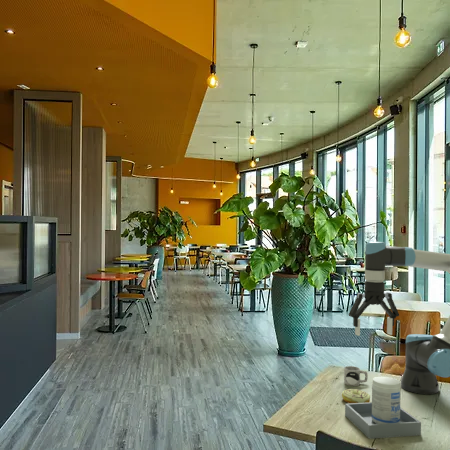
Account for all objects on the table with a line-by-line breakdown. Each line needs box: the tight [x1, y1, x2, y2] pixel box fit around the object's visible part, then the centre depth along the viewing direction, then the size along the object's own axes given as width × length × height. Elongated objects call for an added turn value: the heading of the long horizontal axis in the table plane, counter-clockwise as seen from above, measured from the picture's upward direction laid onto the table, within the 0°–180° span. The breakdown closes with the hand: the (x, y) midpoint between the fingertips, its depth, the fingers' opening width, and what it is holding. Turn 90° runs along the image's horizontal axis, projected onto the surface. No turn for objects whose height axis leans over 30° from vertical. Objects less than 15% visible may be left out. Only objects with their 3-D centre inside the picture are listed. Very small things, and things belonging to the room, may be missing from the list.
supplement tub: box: [371, 376, 402, 424], centre depth 165 cm, size 10×10×15 cm
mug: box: [343, 365, 369, 387], centre depth 207 cm, size 10×7×7 cm, turn 83°
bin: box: [344, 401, 422, 440], centre depth 164 cm, size 19×19×4 cm
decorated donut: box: [341, 388, 371, 404], centre depth 186 cm, size 10×11×4 cm
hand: (373, 334), depth 185 cm, fingers open, 13 cm apart
